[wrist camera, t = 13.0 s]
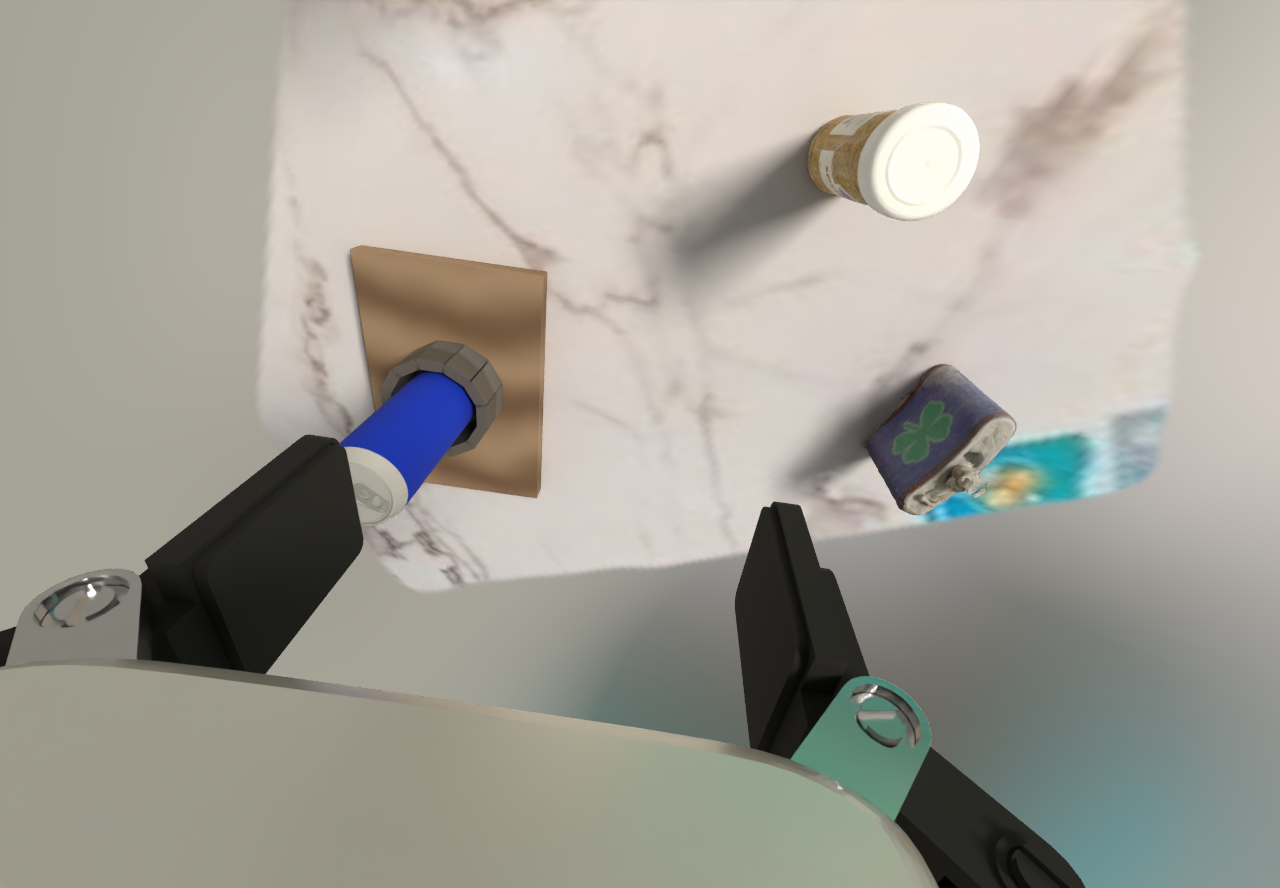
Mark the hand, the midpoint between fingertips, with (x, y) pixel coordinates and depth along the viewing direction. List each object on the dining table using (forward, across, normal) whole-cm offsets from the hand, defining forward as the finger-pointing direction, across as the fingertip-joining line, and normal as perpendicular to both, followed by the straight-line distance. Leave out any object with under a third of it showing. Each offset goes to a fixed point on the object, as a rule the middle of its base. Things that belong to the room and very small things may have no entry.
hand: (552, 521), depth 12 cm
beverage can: (+29, +14, +12) cm, 34 cm away
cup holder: (+30, +14, +12) cm, 35 cm away
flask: (+31, -23, +9) cm, 39 cm away
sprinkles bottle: (+31, -12, -8) cm, 34 cm away
